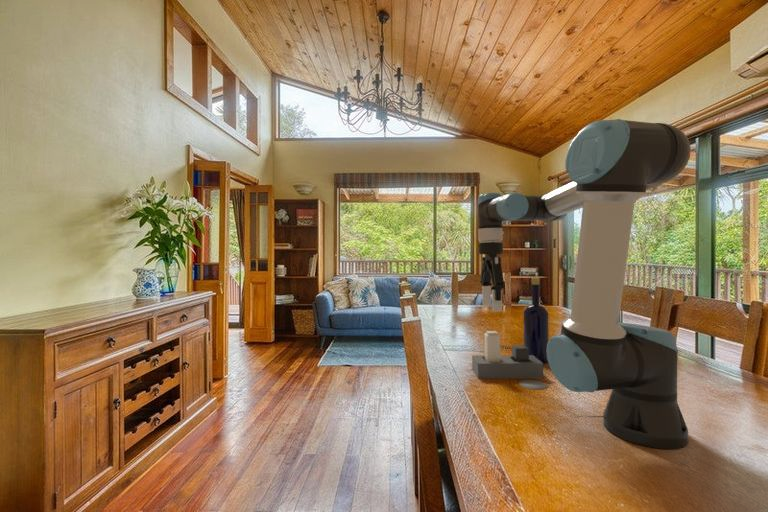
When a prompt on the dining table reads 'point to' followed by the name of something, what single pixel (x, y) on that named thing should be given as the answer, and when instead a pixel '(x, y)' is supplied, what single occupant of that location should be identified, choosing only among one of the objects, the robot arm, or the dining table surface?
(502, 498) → the dining table surface
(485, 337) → the plug
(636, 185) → the robot arm
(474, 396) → the dining table surface
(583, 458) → the dining table surface
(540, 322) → the bottle
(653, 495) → the dining table surface
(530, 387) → the coaster
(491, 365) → the strip
